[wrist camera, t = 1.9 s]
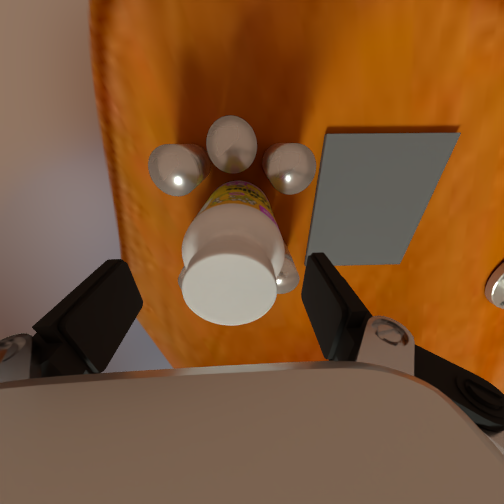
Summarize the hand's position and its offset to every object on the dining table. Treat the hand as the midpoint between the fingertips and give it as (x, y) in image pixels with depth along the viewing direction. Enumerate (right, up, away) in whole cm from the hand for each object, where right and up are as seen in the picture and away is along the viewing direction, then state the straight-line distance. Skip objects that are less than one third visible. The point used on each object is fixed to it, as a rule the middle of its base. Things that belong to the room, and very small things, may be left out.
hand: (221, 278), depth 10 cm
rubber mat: (+14, +6, +10) cm, 19 cm away
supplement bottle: (0, +6, +10) cm, 12 cm away
